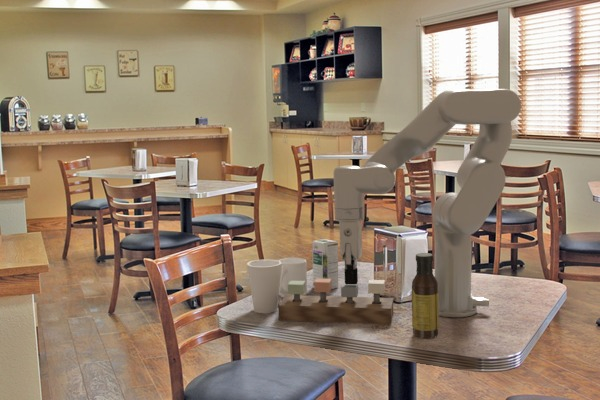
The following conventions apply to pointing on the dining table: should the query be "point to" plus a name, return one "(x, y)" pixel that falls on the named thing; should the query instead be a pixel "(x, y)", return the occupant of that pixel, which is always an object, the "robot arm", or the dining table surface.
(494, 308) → the dining table surface
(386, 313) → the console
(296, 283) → the sage key
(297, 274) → the mug
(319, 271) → the syrup box
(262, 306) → the foam cup
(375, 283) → the cream rectangular block
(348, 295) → the slate-grey key
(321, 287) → the terracotta key
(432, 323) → the sauce bottle
